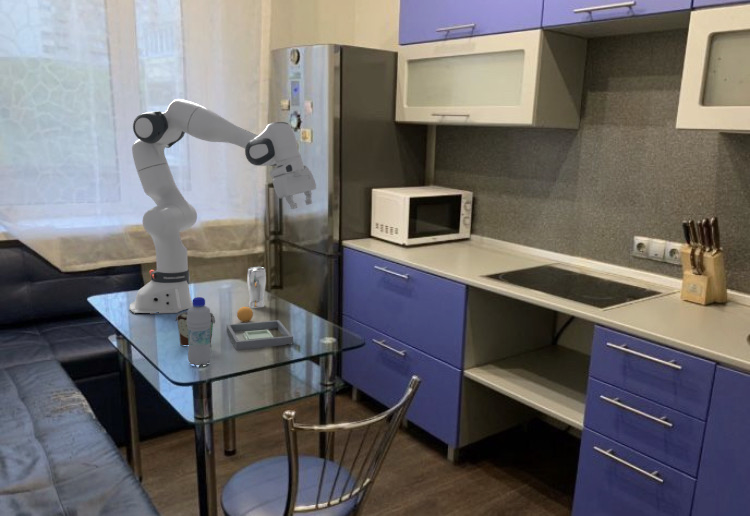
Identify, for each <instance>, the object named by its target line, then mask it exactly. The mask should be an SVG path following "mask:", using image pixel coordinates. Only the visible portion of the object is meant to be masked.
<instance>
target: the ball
mask: <svg viewBox="0 0 750 516" xmlns="http://www.w3.org/2000/svg"><path fill="white" fill-rule="evenodd" d="M236 313H237V314H236V317H237V318H238V321H240V322H242V323H249V322H250V321H251V320H252V319H253V316H254V312H253V310H252V308H250V307H249V306H241V307H240V308H239V309H238V310H237V312H236Z"/></svg>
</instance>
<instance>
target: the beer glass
mask: <svg viewBox="0 0 750 516" xmlns="http://www.w3.org/2000/svg"><path fill="white" fill-rule="evenodd" d="M266 275H267V273H266V268H265V267H262V266H250V267H248V268H247V277H246V279H247V288H248V293H249V301H248V307H249V308H250V309H262V308H263V309H264V308H265V300H264V296H265V295H264V294H265V290H266V285H267V276H266Z"/></svg>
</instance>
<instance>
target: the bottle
mask: <svg viewBox="0 0 750 516" xmlns="http://www.w3.org/2000/svg"><path fill="white" fill-rule="evenodd" d="M192 303H193V306H192V307H190V308H188V309H187V311H188V312H187V311H186V312H187V326H188V342H189V346H188V347H187V349H188V351H187V352H188V353H187V360H188V363H189V362H190V363H189V365H190V364H195V366H196V365H200V366H201V365H202V366H203V365H206V366H208V365H207V363H210V364H211V361H212V360H211V359H212V350H211V347H210V325H211V315H210V313H211V310H210V307H208V306H206V299H205V297H201V296H200V297H199V296H197V297H194V298H193V300H192Z"/></svg>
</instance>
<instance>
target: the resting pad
mask: <svg viewBox="0 0 750 516" xmlns="http://www.w3.org/2000/svg"><path fill="white" fill-rule="evenodd" d="M242 336H243V338H244V340H252V339H263V338H273V337H274V335H273V334H272V333H271V331H270V329H262V330H251V331H244V333H242Z"/></svg>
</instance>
